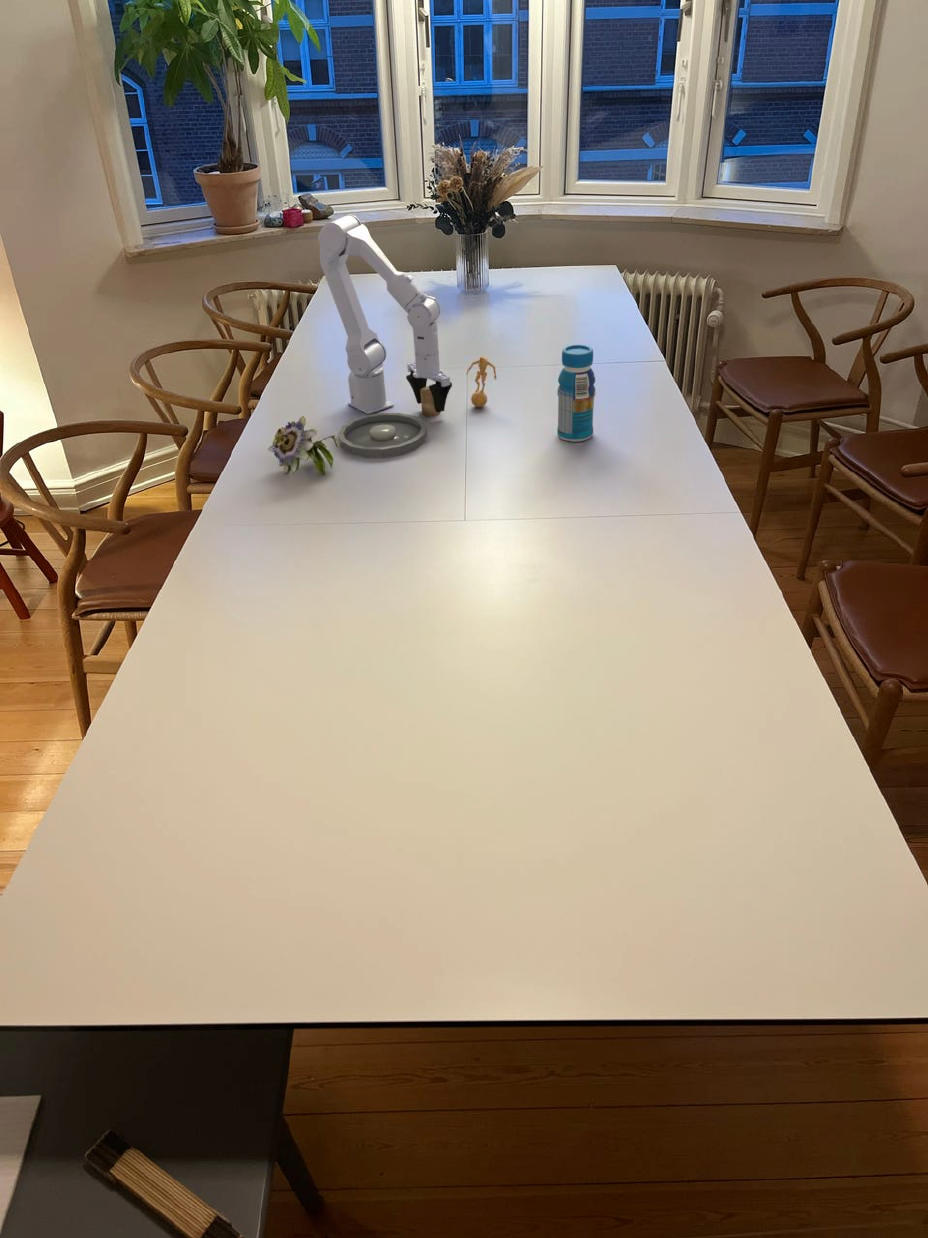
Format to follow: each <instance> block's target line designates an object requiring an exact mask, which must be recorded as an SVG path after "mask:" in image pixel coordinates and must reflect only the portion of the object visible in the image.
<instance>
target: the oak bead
mask: <svg viewBox="0 0 928 1238" xmlns="http://www.w3.org/2000/svg"><path fill="white" fill-rule="evenodd" d="M420 392H421V403H420V404H421V412H422V413H421V415H422V416H423V417H427V418H431V417H434V418H435V417H437V416H439V415H440V414H441V412H438V413H437V412H436V411H435V406H434V400H433V396H432V393H431V391H430V389H429V386H426V387H424V388H422V389H421V390H420Z"/></svg>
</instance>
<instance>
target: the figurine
mask: <svg viewBox="0 0 928 1238" xmlns="http://www.w3.org/2000/svg"><path fill="white" fill-rule="evenodd" d="M476 364H477V365H478V367H479V370H478V371H477V372H476V377H475V379H474V382H475V383H476V385H477V387H476V389H475V391H474V392H473V393H472V395H471V396H470V400H471V404H472V405H473V406H474V407H475V408H483V407H484V406H485V405H486V404H487V401H488V395H487V393H485V392H484V390H485V385H486V382H485V381H486V379H487V375H488V372H487V371H486V370H487V367H488V366H490V367H491V368H492V370H493V374H494V376H493V380H497V373H496V372H497V371H496V366H495V365H494V364H493V363H492V362H490V360H489V359H488V358H487V357H485V356H484V357H483V356H480V357H479V359H477V360H476V361H473V362H472V363H471V365H470V366H469V367H468V369H467V371H466V376H467V375H468V373H469V371H470V370H471V369H472V368H473V367H474V365H476ZM480 378H481V379H480ZM479 380H481V382H479ZM480 384H482V388H481V390H480Z"/></svg>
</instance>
